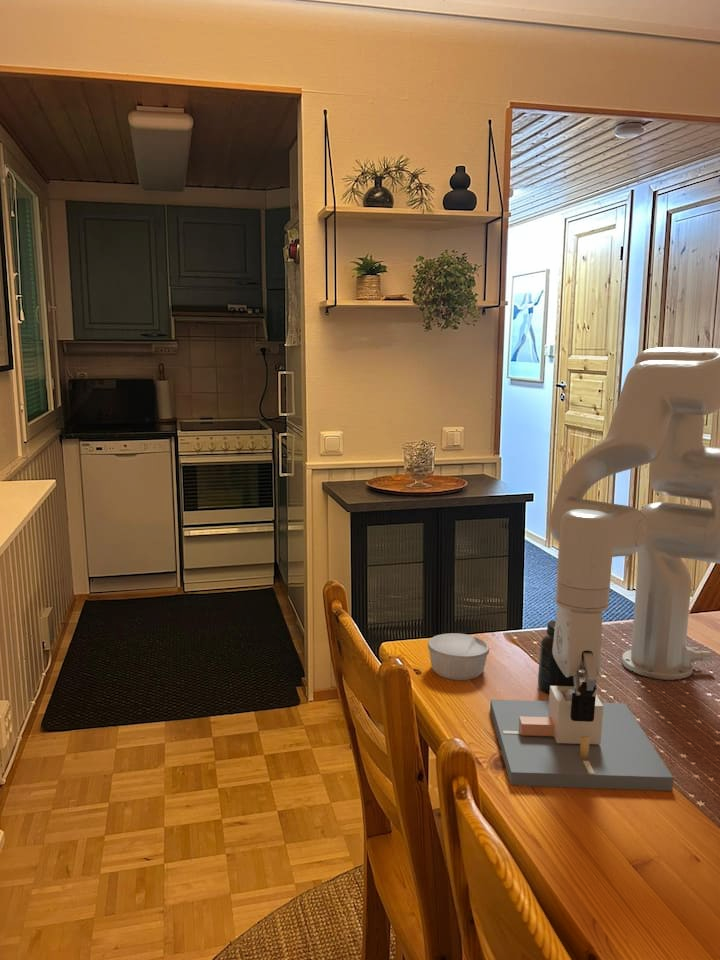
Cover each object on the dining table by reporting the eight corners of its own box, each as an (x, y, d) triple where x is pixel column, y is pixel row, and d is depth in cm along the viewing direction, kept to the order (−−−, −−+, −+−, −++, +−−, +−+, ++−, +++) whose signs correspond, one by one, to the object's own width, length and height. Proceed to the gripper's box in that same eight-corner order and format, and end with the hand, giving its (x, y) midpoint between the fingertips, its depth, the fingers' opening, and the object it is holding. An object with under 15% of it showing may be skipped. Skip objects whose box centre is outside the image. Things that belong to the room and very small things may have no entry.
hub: (589, 723, 119) (591, 686, 118) (600, 744, 113) (603, 706, 112) (516, 721, 120) (518, 684, 119) (523, 741, 114) (525, 703, 112)
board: (624, 714, 127) (628, 665, 126) (672, 790, 106) (677, 732, 104) (490, 710, 128) (492, 661, 127) (510, 785, 106) (513, 727, 105)
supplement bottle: (578, 699, 132) (583, 633, 130) (538, 695, 134) (541, 630, 132) (576, 683, 139) (580, 619, 137) (537, 679, 140) (540, 616, 138)
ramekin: (497, 680, 140) (498, 653, 139) (439, 686, 137) (440, 658, 136) (473, 656, 151) (474, 630, 150) (419, 661, 148) (420, 635, 147)
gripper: (544, 577, 121) (537, 680, 124) (569, 613, 104) (561, 731, 107) (592, 579, 121) (584, 682, 124) (626, 615, 104) (616, 734, 107)
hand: (573, 705), depth 115 cm, fingers open, 9 cm apart
